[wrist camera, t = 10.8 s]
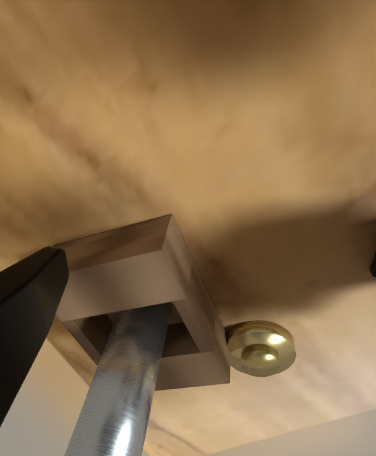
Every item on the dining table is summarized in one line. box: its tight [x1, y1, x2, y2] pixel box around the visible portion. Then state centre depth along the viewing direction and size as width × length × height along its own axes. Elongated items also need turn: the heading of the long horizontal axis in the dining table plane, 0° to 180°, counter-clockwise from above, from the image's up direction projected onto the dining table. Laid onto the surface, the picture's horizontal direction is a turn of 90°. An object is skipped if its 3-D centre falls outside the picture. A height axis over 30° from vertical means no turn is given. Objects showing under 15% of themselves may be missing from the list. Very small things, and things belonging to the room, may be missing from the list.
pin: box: [64, 302, 171, 456], centre depth 22 cm, size 4×4×13 cm
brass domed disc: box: [227, 321, 296, 377], centre depth 29 cm, size 6×6×2 cm
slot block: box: [53, 214, 230, 391], centre depth 26 cm, size 10×14×4 cm
